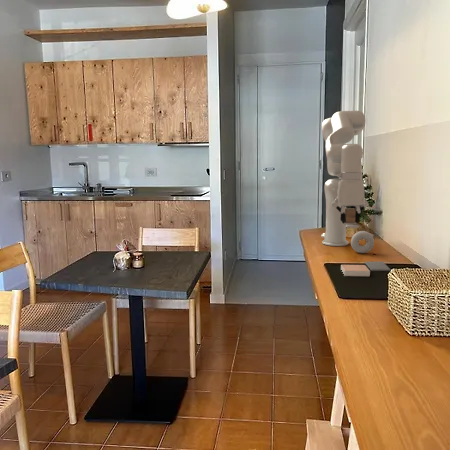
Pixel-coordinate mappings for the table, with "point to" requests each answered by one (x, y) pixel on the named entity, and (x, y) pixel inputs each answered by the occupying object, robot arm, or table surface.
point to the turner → (350, 218)
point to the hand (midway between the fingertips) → (349, 222)
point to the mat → (377, 266)
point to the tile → (355, 270)
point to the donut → (362, 235)
